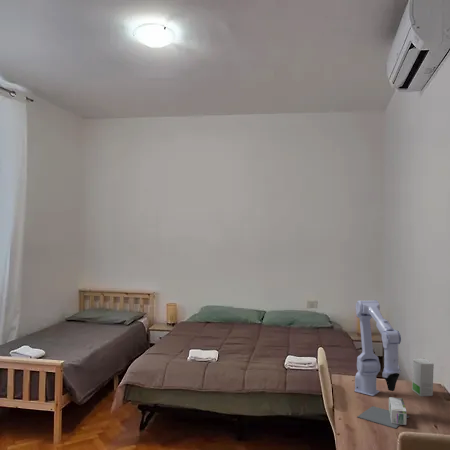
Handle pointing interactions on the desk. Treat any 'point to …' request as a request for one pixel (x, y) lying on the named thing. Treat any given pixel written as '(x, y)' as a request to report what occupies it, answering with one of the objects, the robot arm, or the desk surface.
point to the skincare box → (422, 377)
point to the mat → (378, 416)
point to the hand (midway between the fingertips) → (391, 390)
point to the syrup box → (397, 411)
